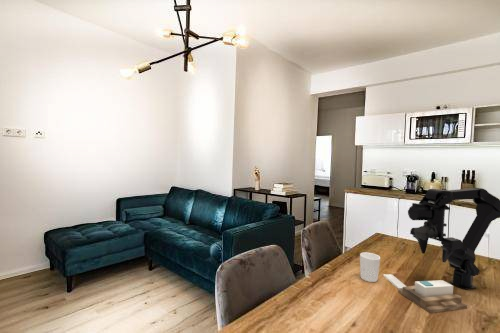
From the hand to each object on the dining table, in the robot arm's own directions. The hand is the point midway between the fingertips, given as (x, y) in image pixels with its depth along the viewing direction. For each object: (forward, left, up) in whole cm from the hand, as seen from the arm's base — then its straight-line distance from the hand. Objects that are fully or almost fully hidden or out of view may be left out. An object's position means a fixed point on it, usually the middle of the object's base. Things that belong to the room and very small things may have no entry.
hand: (433, 257), depth 109 cm
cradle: (+10, +9, -12) cm, 18 cm away
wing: (+13, -5, -13) cm, 19 cm away
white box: (+9, +9, -11) cm, 17 cm away
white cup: (+22, -10, -12) cm, 27 cm away
